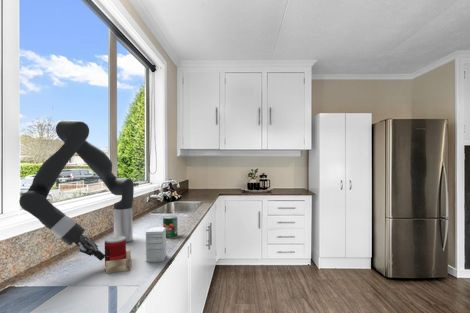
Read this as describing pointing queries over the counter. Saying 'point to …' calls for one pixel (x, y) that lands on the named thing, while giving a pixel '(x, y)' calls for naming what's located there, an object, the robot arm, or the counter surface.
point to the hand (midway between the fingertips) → (103, 258)
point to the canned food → (115, 248)
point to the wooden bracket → (119, 264)
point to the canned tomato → (170, 226)
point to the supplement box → (155, 244)
